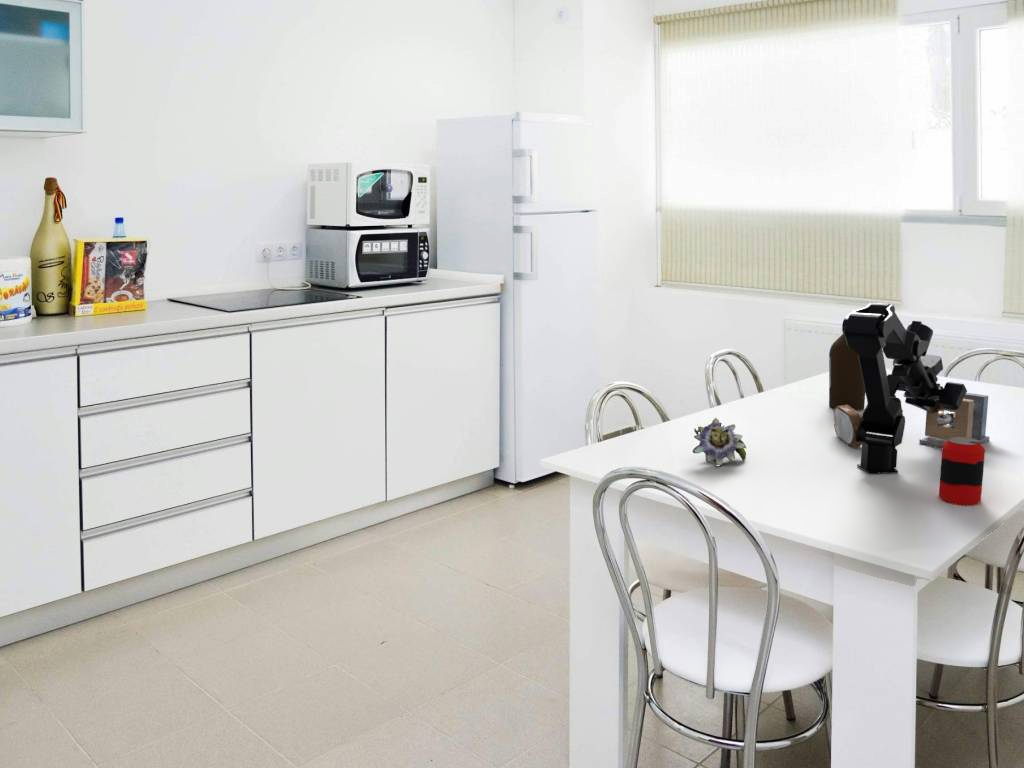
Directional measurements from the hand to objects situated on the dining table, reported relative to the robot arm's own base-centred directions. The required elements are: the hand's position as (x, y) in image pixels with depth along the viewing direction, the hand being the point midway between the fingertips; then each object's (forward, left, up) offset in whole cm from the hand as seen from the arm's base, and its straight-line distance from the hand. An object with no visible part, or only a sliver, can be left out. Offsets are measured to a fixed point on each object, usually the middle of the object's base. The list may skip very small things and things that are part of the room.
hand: (933, 411), depth 227 cm
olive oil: (-3, +41, -8) cm, 42 cm away
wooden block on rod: (+3, -2, -6) cm, 7 cm away
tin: (-19, +5, -8) cm, 21 cm away
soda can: (-17, -41, -8) cm, 45 cm away
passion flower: (-55, -7, -8) cm, 56 cm away
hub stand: (+6, 0, -8) cm, 10 cm away
